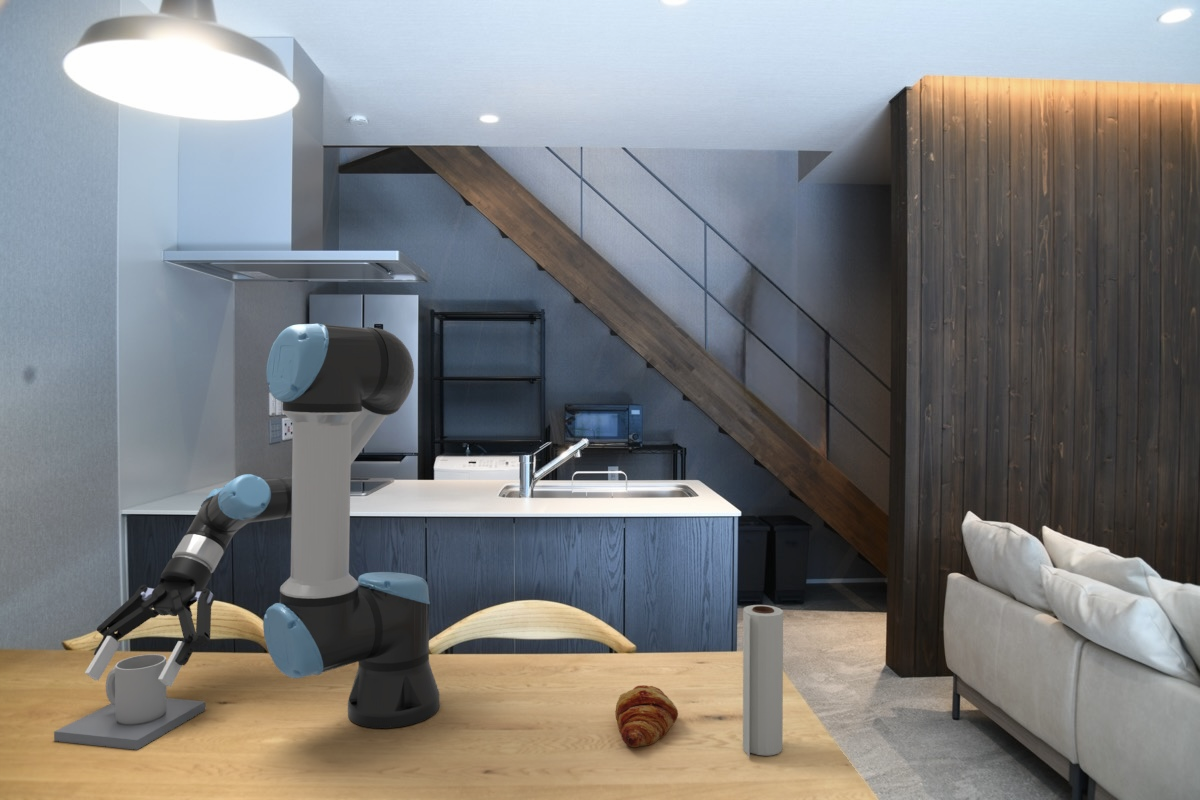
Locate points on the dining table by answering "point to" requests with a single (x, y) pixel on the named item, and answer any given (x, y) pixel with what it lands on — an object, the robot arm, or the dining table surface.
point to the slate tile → (127, 726)
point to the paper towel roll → (762, 680)
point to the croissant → (644, 715)
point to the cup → (137, 689)
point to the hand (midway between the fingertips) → (127, 680)
